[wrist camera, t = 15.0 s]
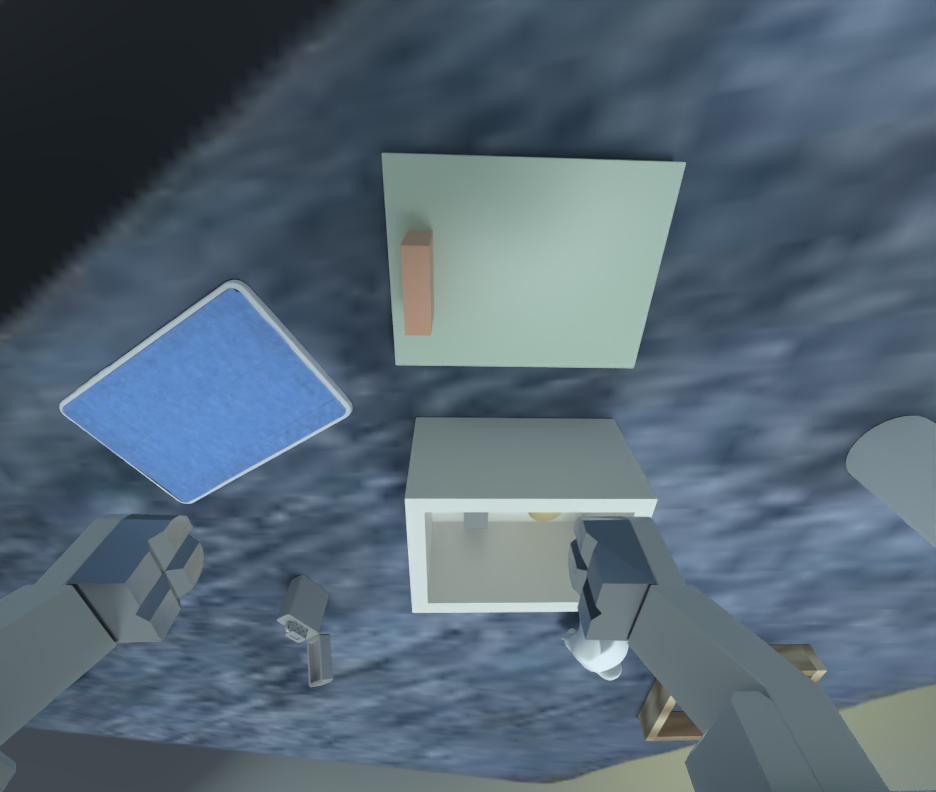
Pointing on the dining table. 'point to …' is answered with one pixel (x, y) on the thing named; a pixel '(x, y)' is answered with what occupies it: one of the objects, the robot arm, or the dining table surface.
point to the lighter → (308, 626)
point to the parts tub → (510, 508)
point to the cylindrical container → (900, 469)
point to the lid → (524, 257)
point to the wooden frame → (678, 725)
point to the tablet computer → (209, 396)
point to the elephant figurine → (597, 653)
